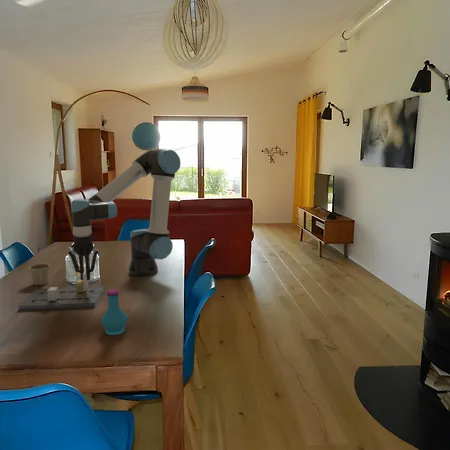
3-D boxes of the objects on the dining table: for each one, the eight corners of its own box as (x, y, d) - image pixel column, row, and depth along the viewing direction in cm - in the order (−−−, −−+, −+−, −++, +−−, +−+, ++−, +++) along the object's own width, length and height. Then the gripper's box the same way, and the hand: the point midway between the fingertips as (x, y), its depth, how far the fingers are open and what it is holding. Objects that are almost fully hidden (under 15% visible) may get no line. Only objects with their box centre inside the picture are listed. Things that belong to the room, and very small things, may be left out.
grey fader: (58, 297, 169) (57, 287, 168) (55, 300, 165) (54, 290, 164) (51, 297, 168) (50, 287, 168) (48, 300, 165) (47, 290, 164)
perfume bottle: (104, 325, 146) (102, 286, 143) (130, 324, 147) (128, 286, 144) (99, 337, 137) (96, 295, 134) (126, 335, 138) (123, 295, 135)
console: (104, 290, 183) (104, 285, 183) (95, 307, 163) (94, 301, 163) (37, 293, 180) (36, 287, 180) (19, 310, 160) (18, 304, 160)
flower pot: (43, 287, 188) (41, 269, 186) (26, 286, 190) (24, 268, 188) (55, 281, 197) (54, 264, 195) (38, 279, 199) (37, 263, 197)
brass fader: (85, 289, 178) (85, 279, 178) (83, 292, 174) (83, 282, 174) (79, 289, 178) (78, 279, 177) (76, 292, 174) (75, 282, 173)
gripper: (99, 233, 176) (102, 283, 180) (69, 233, 175) (73, 284, 179) (96, 236, 169) (99, 289, 173) (64, 237, 167) (68, 290, 172)
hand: (86, 286), depth 176 cm, fingers closed
